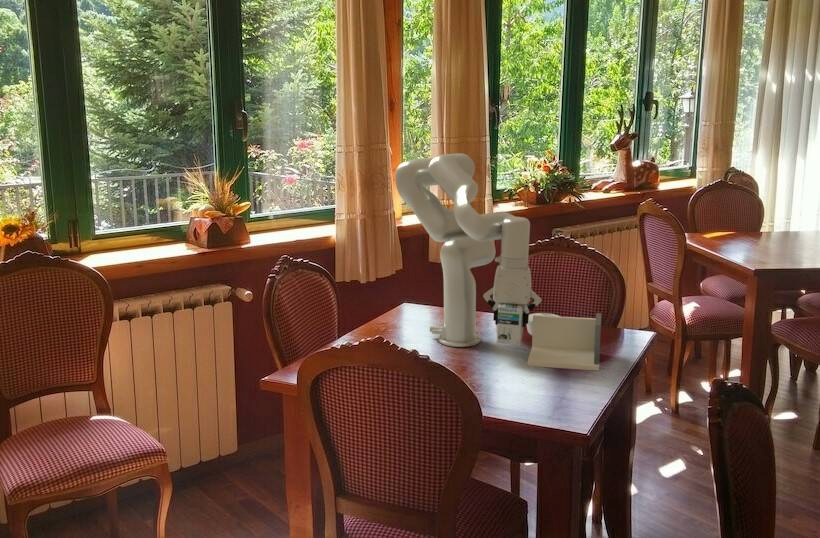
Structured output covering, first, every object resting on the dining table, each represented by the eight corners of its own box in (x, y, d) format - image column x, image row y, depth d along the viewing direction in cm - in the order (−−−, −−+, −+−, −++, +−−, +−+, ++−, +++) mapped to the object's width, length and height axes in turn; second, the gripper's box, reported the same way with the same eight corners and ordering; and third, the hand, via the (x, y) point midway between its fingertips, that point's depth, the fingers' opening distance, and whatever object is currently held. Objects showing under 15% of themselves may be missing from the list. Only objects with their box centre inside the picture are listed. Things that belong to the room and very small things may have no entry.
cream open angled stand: (527, 365, 217) (528, 329, 215) (532, 348, 231) (533, 315, 229) (598, 370, 213) (600, 334, 211) (599, 353, 227) (601, 318, 225)
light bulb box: (520, 346, 217) (522, 308, 214) (495, 344, 218) (497, 306, 216) (523, 333, 227) (525, 297, 225) (499, 331, 229) (501, 295, 226)
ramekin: (566, 331, 249) (567, 315, 247) (555, 341, 239) (556, 324, 238) (532, 327, 254) (532, 311, 252) (520, 336, 244) (520, 319, 243)
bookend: (593, 364, 214) (595, 324, 212) (594, 350, 226) (596, 313, 223) (599, 364, 214) (600, 325, 212) (599, 350, 225) (601, 313, 223)
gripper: (480, 263, 216) (477, 325, 220) (545, 268, 212) (540, 331, 216) (484, 256, 223) (481, 317, 227) (547, 261, 219) (543, 323, 223)
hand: (510, 324), depth 222 cm, fingers closed on light bulb box, 6 cm apart
